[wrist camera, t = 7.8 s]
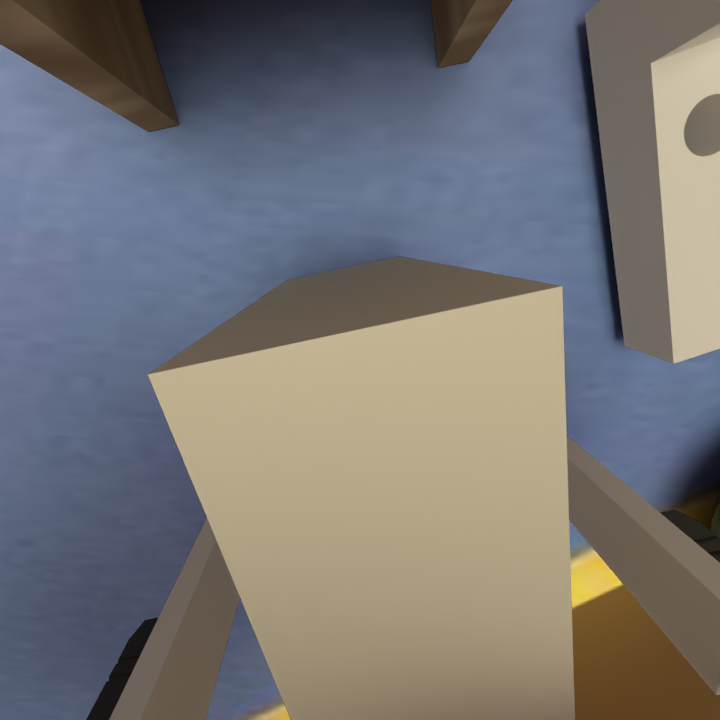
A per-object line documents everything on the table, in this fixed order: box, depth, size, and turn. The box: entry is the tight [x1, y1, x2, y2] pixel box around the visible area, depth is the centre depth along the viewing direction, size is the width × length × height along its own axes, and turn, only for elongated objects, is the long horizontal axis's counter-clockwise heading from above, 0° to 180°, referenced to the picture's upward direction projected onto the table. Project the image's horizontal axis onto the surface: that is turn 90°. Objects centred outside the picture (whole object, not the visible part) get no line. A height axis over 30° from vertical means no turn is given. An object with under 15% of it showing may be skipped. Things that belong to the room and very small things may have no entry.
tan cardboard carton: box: [148, 256, 575, 720], centre depth 12 cm, size 5×10×12 cm, turn 12°
